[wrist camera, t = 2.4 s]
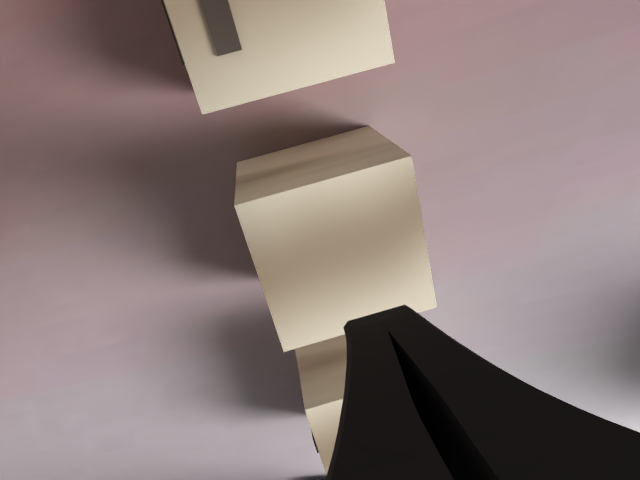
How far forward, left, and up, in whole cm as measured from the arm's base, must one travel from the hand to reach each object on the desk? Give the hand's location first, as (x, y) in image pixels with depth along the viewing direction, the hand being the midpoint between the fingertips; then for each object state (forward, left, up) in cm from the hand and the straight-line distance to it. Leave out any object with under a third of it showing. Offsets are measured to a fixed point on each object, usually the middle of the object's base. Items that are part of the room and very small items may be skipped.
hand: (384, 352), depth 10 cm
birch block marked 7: (+7, +3, -10) cm, 12 cm away
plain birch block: (0, 0, -10) cm, 10 cm away
